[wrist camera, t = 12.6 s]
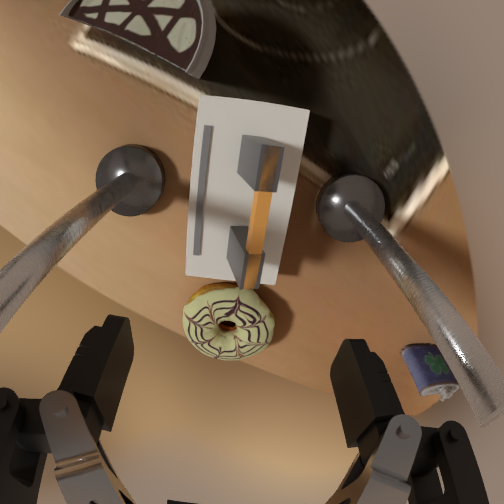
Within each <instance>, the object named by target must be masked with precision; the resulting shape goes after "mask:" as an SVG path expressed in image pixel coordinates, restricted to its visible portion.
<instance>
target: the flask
mask: <svg viewBox="0 0 504 504" xmlns="http://www.w3.org/2000/svg"><path fill="white" fill-rule="evenodd" d="M403 349H405V350H403ZM403 349H402V350H401V355H402V357H403V359H404V361H405V363H406V365H407V367H408V369H409V371H410V373H411V375H412V377H413V379H414V381H415V384H416V386H417V388H418V391H419V393H420V396H426V395H432V394H440V396H441V397H442V398H441V401H444V399H448V398H450V395H451V396H452V395H453V393H454V392H455V391H457V390H458V389H459V387H460V385H459V383H458V382H457V380H456V378H455V376H454V374H453V373H452V371H451V369H450V367H449V365H448V364H447V362H446V360H445V359H444V357H443V355H442V353H441V352H440V350H439V348H438V347H437V345H435V344H424V343H423V344H420V343H419V344H410V345H406V346H405V347H403Z"/></svg>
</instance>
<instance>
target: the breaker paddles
mask: <svg viewBox="0 0 504 504" xmlns="http://www.w3.org/2000/svg"><path fill="white" fill-rule="evenodd" d="M284 148H285V147H283V146H281V145H279V144H277V143H275V142H272V141H270V140H268V139H266V138H263V137H260V136H251V135H242V140H241V147H240V154H239V161H238V169H237V173H238V174H239V175H240V176H241V177H242V178H243V179H244V181H245V182H246V183H247V184H248V185H249V186H250V187H251V188H252V189H253V190H254V196H253V203H252V210H251V216H250V223H249V227H248V226H230V231H229V240H228V248H227V257H226V258H227V260H228V263H229V265H230V268H231V270H232V273H233V275H234V277H235V280H236V282H237V285H238V287H239V289H240V290H245V289H259V286H260V281H261V275H262V270H263V265H264V259H265V252H264V251H263V244H264V238H265V233H266V227H267V221H268V216H269V210H270V204H271V199H272V193H273V192H276V193H277V188H278V182H279V177H280V171H281V165H282V160H283V154H284Z"/></svg>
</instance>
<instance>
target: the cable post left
mask: <svg viewBox="0 0 504 504" xmlns="http://www.w3.org/2000/svg"><path fill="white" fill-rule="evenodd" d="M164 186H165V172H164V168H163V165H162V163H161V161H160V160H159V158H158V157H157V156H156V155H155V153H154V152H152V151H151V150H150V149H148V148H146V147H144V146H141V145H137V144H128V145H124V146H121V147H118V148H116V149H114V150H112V151H110V152H109V153H108V154H106V155H105V156H104V158H103V159H102V160H101V162H100V164H99V166H98V168H97V172H96V187H97V191H96V192H94V193H93V194H91V195H90V196H88V197H87V198H86V199H84V200H83V201H82V202H80V203H79V204H78V205H76V206H75V207H74V208H72V209H71V210H70V211H68V212H67V213H66V214H64V215H63V216H62V217H60V218H59V219H58V220H57V221H55V222H54V223H53V224H52V225H50V226H49V227H48V228H47V229H46V230H44V231H43V232H42V233H41V234H40V235H38V236H37V237H36V238H35V239H34V240H32V241H31V242H30V243H29V244H28V245H27V246H26V247H25V248H23V249H22V250H21V251H20V252H19V253H18V254H17V255H16V256H15V257H14V258H12V259H11V260H10V261H9V262H8V263H7V264H6V265H5V266H4V267H3V268H2V269H1V270H0V332H1V331H2V330H3V329H4V327H5V326H6V325H7V323H8V322H9V320H10V319H11V318H12V317H13V315H14V314H15V313H16V312H17V310H18V309H19V308H20V306H21V305H22V304H23V303H24V301H25V300H26V299H27V298H28V297H29V295H30V294H31V293H32V292H33V291H34V289H35V288H36V287H37V286H38V285H39V284H40V282H41V281H42V280H43V279H44V278H45V277H46V276H47V274H48V273H49V272H50V271H51V270H52V269H53V268H54V266H56V264H57V263H58V262H59V261H60V260H61V259H62V258H63V257H64V256H65V255H66V254H67V253H68V252H69V251H70V250H71V249H72V247H73V246H74V245H75V244H76V243H77V242H78V241H79V240H80V239H81V238H82V237H83V236H84V235H85V234H86V233H87V232H88V231H89V230H90V229H91V228H92V227H94V226H95V225H96V224H97V223H98V222H99V221H100V220H101V219H102V218H103V217H104V216H105V215H106V214H107V213H108V212H109V211H110V210H112V211H113V212H115V213H117V214H120V215H123V216H137V215H141V214H143V213H145V212H147V211H148V210H149V209H151V208H152V207H153V205H154V204H155V203H156V202H157V201H158V199H159V198H160V196H161V195H162V192H163V190H164Z"/></svg>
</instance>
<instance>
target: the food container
mask: <svg viewBox="0 0 504 504" xmlns="http://www.w3.org/2000/svg"><path fill="white" fill-rule="evenodd" d="M60 15H61V16H64V17H67V18H70V19H73V20H76V21H79V22H81V23H84V24H87V25H89V26H92V27H94V28H97V29H99V30H102V31H104V32H107V33H109V34H111V35H114V36H116V37H118V38H121V39H123V40H125V41H127V42H129V43H132V44H134V45H136V46H138V47H140V48H142V49H144V50H146V51H148V52H150V53H152V54H154V55H156V56H158V57H160V58H162V59H164V60H166V61H168V62H169V63H171V64H173V65H175V66H177V67H179V68H180V69H182V70H184V71H185V72H186V73H188V74H190V75H192V76H193V77H195V78H197V79H200V77H201V75H202V74H203V72H204V70H205V69H206V67H207V64H208V62H209V60H210V58H211V55H212V52H213V48H214V44H215V37H216V21H215V15H214V11H213V8H212V5H211V3H210V1H209V0H70V1H69V3H68V4H67V5H66V6H65V7H64V9H63V10H62V12H61V13H60Z"/></svg>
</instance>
